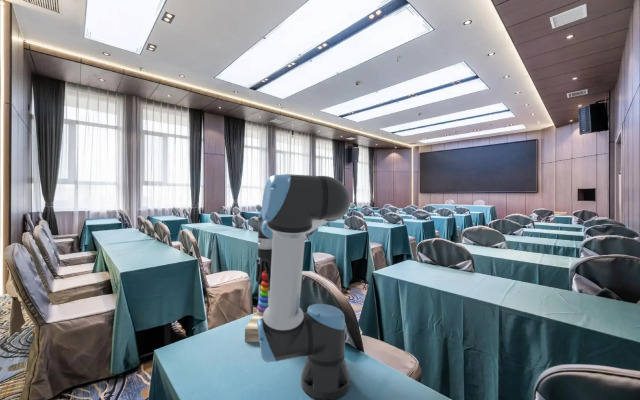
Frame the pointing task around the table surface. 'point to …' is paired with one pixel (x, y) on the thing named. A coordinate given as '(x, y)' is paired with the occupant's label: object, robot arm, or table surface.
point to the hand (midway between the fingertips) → (266, 301)
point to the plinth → (252, 329)
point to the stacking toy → (263, 295)
